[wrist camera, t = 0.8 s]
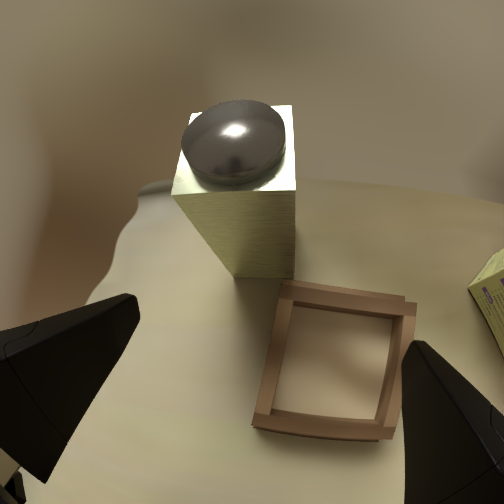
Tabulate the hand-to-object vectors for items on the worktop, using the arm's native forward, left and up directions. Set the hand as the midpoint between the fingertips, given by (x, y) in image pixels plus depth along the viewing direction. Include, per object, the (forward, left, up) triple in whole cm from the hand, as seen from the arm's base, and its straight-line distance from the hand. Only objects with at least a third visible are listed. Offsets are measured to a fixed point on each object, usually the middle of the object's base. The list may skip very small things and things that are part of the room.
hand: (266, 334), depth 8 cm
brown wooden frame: (-1, -4, -14) cm, 14 cm away
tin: (+7, +3, -14) cm, 16 cm away
